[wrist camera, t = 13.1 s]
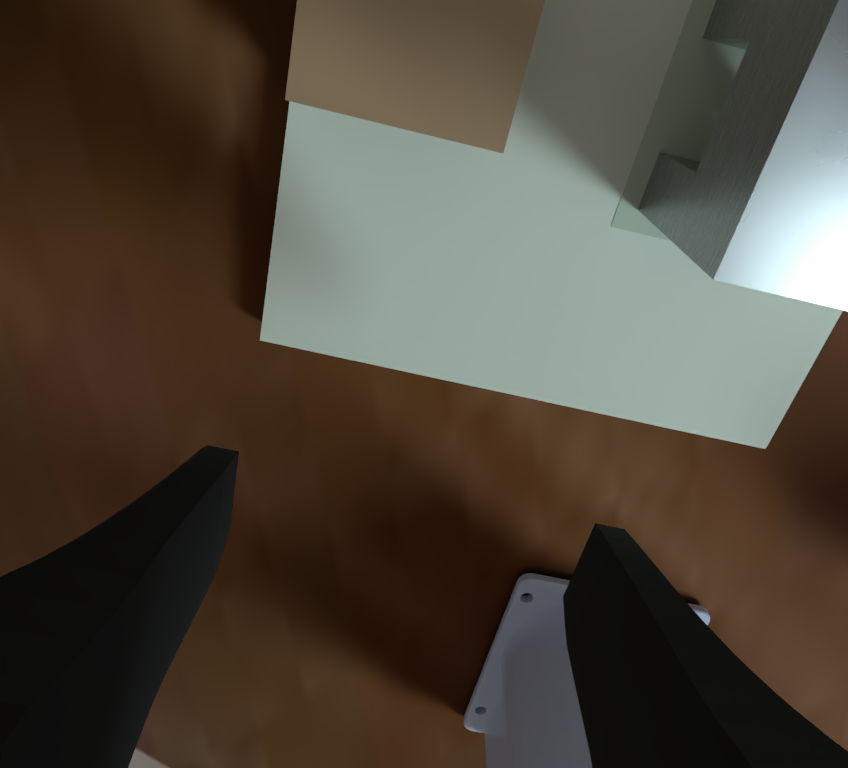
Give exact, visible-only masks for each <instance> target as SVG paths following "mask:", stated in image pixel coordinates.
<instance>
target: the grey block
mask: <svg viewBox="0 0 848 768" xmlns="http://www.w3.org/2000/svg"><path fill="white" fill-rule="evenodd" d="M702 38H703V39H706V40H710V41H714V42H718V43H721V44H725V45H729V46H733V47H737V48H740V49H744V50H746V51H745V53H744V56H743V58H742V61H741V63H740V66H739V68H738V71H737V73H736V76H735V78H734V81H733V83H732V86H731V88H730V91H729V93H728V95H727V98H726V100H725V103H724V105H723V108H722V110H721V113H720V115H719V118H718V120H717V123H716V125H715V128H714V130H713V132H712V135H711V137H710V140H709V142H708V145H707V147H706V150H705V152H704V155H703V157H702V160H701V162H698V161H694V160H690V159H686V158H682V157H678V156H674V155H670V154H666V153H662V152H659V154H658V157H657V160H656V162H655V165H654V168H653V170H652V173H651V176H650V178H649V181H648V184H647V186H646V189H645V192H644V194H643V197H642V200H641V202H640V205H639V208H638V211H639V212H640V213H642V214H643V215H644V216H645V217H646V218H647V219H648V220H649V221H650V222H651V223H652V224H653V225H655V226H656V227H657V228H658V229H659V230H660V231H661V232H662V233H663V234H664V235H665V236H666V237H668V238H669V239H670V240H671V241H672V242H673V243H674V244H675V245H676V246H677V247H678V248H679V249H680V250H682V251H683V252H684V253H685V254H686V255H687V256H688V257H689V258H690V259H691V260H692V261H693V262H695V263H696V264H697V265H698V266H699V267H700V268H701V269H702V270H703V271H704V272H705V273H706V274H708V275H709V276H710V277H711V278H712V279H713V280H716V281H721V282H725V283H729V284H733V285H738V286H742V287H746V288H750V289H755V290H759V291H763V292H767V293H772V294H776V295H780V296H784V297H789V298H793V299H797V300H801V301H806V302H810V303H814V304H819V305H823V306H827V307H831V308H836V309H840V310H844V311H848V0H716V2H715V5H714V8H713V10H712V13H711V16H710V18H709V21H708V24H707V26H706V29H705V32H704V34H703V37H702Z"/></svg>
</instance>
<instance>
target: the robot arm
mask: <svg viewBox="0 0 848 768" xmlns="http://www.w3.org/2000/svg"><path fill="white" fill-rule="evenodd" d="M238 454H239V452H238V451H233V450H228V449H223V448H218V447H213V446H208V445H207V446H206V447H204V448H202V449H201V450H199V451H198V452H197V453H196V454H195V455H193V456H192V457H191V458H190V459H188V460H187V461H186V462H185V463H184V464H182V465H181V466H180V467H179V468H177V469H176V470H175V471H174V472H172V473H171V474H170V475H169V476H167V477H166V478H165V479H164V480H162V481H161V482H160V483H158V484H157V485H156V486H154V487H153V488H152V489H150V490H149V491H147V492H146V493H145V494H143V495H142V496H141V497H139V498H138V499H137V500H135V501H134V502H132V503H131V504H130V505H128V506H127V507H125V508H124V509H122V510H121V511H119V512H118V513H116V514H115V515H113V516H112V517H110V518H108V519H107V520H105V521H104V522H102V523H101V524H99V525H98V526H96V527H95V528H93V529H92V530H90V531H88V532H87V533H85V534H83V535H82V536H80V537H78V538H77V539H75V540H73V541H71V542H70V543H68V544H66V545H64V546H62V547H61V548H59V549H57V550H55V551H53V552H51V553H50V554H48V555H46V556H44V557H42V558H40V559H38V560H36V561H34V562H32V563H30V564H27V565H25V566H23V567H21V568H19V569H16V570H14V571H12V572H10V573H8V574H5V575H3V576H1V577H0V768H128V766H129V763H130V760H131V758H132V755H133V752H134V750H135V747H136V745H137V742H138V740H139V737H140V734H141V732H142V729H143V727H144V724H145V721H146V719H147V716H148V713H149V711H150V708H151V706H152V703H153V701H154V699H155V696H156V694H157V692H158V690H159V687H160V685H161V683H162V681H163V679H164V676H165V674H166V672H167V670H168V668H169V666H170V664H171V662H172V660H173V658H174V656H175V654H176V652H177V650H178V648H179V646H180V644H181V642H182V640H183V638H184V636H185V634H186V632H187V630H188V628H189V626H190V624H191V622H192V620H193V618H194V616H195V614H196V612H197V610H198V608H199V606H200V604H201V602H202V600H203V598H204V596H205V594H206V592H207V590H208V588H209V586H210V584H211V582H212V580H213V577H214V575H215V572H216V569H217V566H218V564H219V561H220V558H221V555H222V552H223V549H224V547H225V544H226V541H227V538H228V535H229V531H230V522H231V514H232V505H233V497H234V488H235V480H236V471H237V463H238ZM524 593H529V595H522V594H524ZM709 622H710V616H709V613H708V611H707V609H706V608H705V607H702V606H699V605H694V604H689V603H687V602H686V601H685V600H684V599H683V598H682V597H681V595H680V594H679V593H678V592H677V591H676V590H675V588H674V587H673V586H672V585H671V584H670V582H669V581H668V580H667V579H666V578H665V576H664V575H663V574H662V573H661V572H660V570H659V569H658V568H657V567H656V566H655V564H654V563H653V562H652V561H651V560H650V558H649V557H648V556H647V555H646V554H645V552H644V551H643V550H642V549H641V548H640V546H639V545H638V544H637V543H636V542H635V541H634V539H633V538H632V537H631V536H630V535H629V534H628V533H627V532H626V531H625V530H624V529H620V528H616V527H611V526H606V525H601V524H596V523H595V525H594V528H593V530H592V532H591V534H590V537H589V539H588V541H587V543H586V546H585V548H584V550H583V553H582V555H581V557H580V559H579V562H578V564H577V566H576V568H575V571H574V573H573V575H572V577H571V580H565V579H560V578H554V577H549V576H544V575H539V574H534V573H527V574H523V575H522V576H520V577H519V578H518V580H517V582H516V585H515V587H514V590H513V592H512V595H511V597H510V600H509V603H508V605H507V608H506V610H505V613H504V615H503V618H502V620H501V623H500V625H499V628H498V631H497V633H496V636H495V638H494V641H493V643H492V646H491V648H490V651H489V653H488V656H487V659H486V661H485V664H484V666H483V669H482V671H481V674H480V676H479V679H478V681H477V684H476V687H475V689H474V692H473V694H472V697H471V699H470V702H469V704H468V707H467V709H466V712H465V715H464V726H465V728H467V729H468V730H471V731H475V732H481V733H485V747H486V764H487V768H848V751H846V750H845V749H844V748H842V747H841V746H840V745H838V744H837V743H836V742H834V741H833V740H832V739H830V738H829V737H828V736H827V735H825V734H824V733H823V732H822V731H820V730H819V729H818V728H817V727H816V726H814V725H813V724H812V723H811V722H809V721H808V720H807V719H806V718H804V717H803V716H802V715H801V714H800V713H798V712H797V711H796V710H795V709H793V708H792V707H791V706H790V705H789V704H788V703H786V702H785V701H784V700H783V699H782V698H781V697H780V696H778V695H777V694H776V693H775V692H774V691H773V690H772V689H771V688H770V687H769V686H767V685H766V684H765V683H764V682H763V681H762V680H761V679H760V678H759V677H758V676H757V675H756V674H754V673H753V672H752V671H751V670H750V669H749V668H748V667H747V666H746V665H745V664H744V663H743V662H742V661H741V660H740V659H739V658H738V657H737V656H736V655H735V654H734V653H733V652H732V651H731V650H730V649H729V648H728V647H727V646H726V645H725V644H724V643H723V642H722V641H721V640H720V639H719V638H718V637H717V635H716V634H715V633H714V632H713V631H712V630H711V629H710V628H709V627H708V626H707V625H708V624H709Z"/></svg>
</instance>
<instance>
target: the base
mask: <svg viewBox="0 0 848 768" xmlns="http://www.w3.org/2000/svg"><path fill="white" fill-rule="evenodd" d="M715 2H716V0H545V2H544V6H543V9H542V13H541V17H540V20H539V24H538V28H537V31H536V35H535V39H534V42H533V46H532V50H531V53H530V57H529V61H528V64H527V68H526V72H525V76H524V79H523V83H522V87H521V90H520V94H519V98H518V101H517V105H516V109H515V112H514V116H513V120H512V123H511V127H510V131H509V134H508V138H507V142H506V146H505V149H504V153H499V152H495V151H491V150H487V149H483V148H479V147H475V146H471V145H466V144H462V143H458V142H454V141H450V140H446V139H442V138H438V137H434V136H430V135H426V134H422V133H417V132H413V131H409V130H405V129H401V128H397V127H393V126H389V125H385V124H381V123H377V122H373V121H368V120H364V119H360V118H356V117H352V116H348V115H344V114H340V113H336V112H332V111H328V110H323V109H319V108H315V107H311V106H307V105H303V104H299V103H295V102H291V101H289V109H288V117H287V125H286V133H285V141H284V150H283V158H282V166H281V174H280V182H279V190H278V198H277V206H276V214H275V222H274V230H273V238H272V246H271V254H270V262H269V271H268V279H267V287H266V295H265V303H264V311H263V319H262V327H261V335H260V340H261V341H265V342H270V343H275V344H279V345H284V346H289V347H293V348H298V349H303V350H307V351H312V352H316V353H321V354H326V355H330V356H335V357H340V358H344V359H349V360H354V361H358V362H363V363H368V364H372V365H377V366H382V367H386V368H391V369H395V370H400V371H405V372H409V373H414V374H419V375H423V376H428V377H433V378H437V379H442V380H447V381H451V382H456V383H461V384H465V385H470V386H475V387H479V388H484V389H488V390H493V391H498V392H502V393H507V394H512V395H516V396H521V397H526V398H530V399H535V400H540V401H544V402H549V403H554V404H558V405H563V406H568V407H572V408H577V409H581V410H586V411H591V412H595V413H600V414H605V415H609V416H614V417H619V418H623V419H628V420H633V421H637V422H642V423H647V424H651V425H656V426H660V427H665V428H670V429H674V430H679V431H684V432H688V433H693V434H698V435H702V436H707V437H712V438H716V439H721V440H726V441H730V442H735V443H740V444H744V445H749V446H753V447H758V448H763V449H766V448H767V446H768V444H769V442H770V440H771V439H772V437H773V435H774V433H775V431H776V430H777V428H778V426H779V424H780V422H781V421H782V419H783V417H784V415H785V413H786V412H787V410H788V408H789V406H790V404H791V403H792V401H793V399H794V397H795V395H796V394H797V392H798V390H799V388H800V386H801V385H802V383H803V381H804V379H805V378H806V376H807V374H808V372H809V370H810V369H811V367H812V365H813V363H814V361H815V360H816V358H817V356H818V354H819V352H820V351H821V349H822V347H823V345H824V343H825V342H826V340H827V338H828V336H829V334H830V333H831V331H832V329H833V327H834V325H835V324H836V322H837V320H838V318H839V316H840V315H841V313H842V311H843V310H840V309H836V308H831V307H827V306H823V305H819V304H814V303H810V302H806V301H801V300H797V299H793V298H789V297H784V296H780V295H776V294H772V293H767V292H763V291H759V290H755V289H750V288H746V287H742V286H738V285H733V284H729V283H725V282H721V281H716V280H713V279H712V278H711V277H710V276H709V275H708V274H706V273H705V272H704V271H703V270H702V269H701V268H700V267H699V266H698V265H697V264H696V263H695V262H693V261H692V260H691V259H690V258H689V257H688V256H687V255H686V254H685V253H684V252H683V251H682V250H680V249H679V248H678V247H677V246H676V245H675V244H674V243H673V242H672V241H671V240H670V239H669V238H668V237H666V236H665V235H664V234H663V233H662V232H661V231H660V230H659V229H658V228H657V227H656V226H655V225H653V224H652V223H651V222H650V221H649V220H648V219H647V218H646V217H645V216H644V215H643V214H642V213H640V212H639V211H638V208H639V205H640V202H641V200H642V197H643V194H644V192H645V189H646V186H647V184H648V181H649V178H650V176H651V173H652V170H653V168H654V165H655V162H656V160H657V157H658V154H659V152H662V153H666V154H670V155H674V156H678V157H682V158H686V159H690V160H694V161H698V162H701V160H702V157H703V155H704V152H705V150H706V147H707V145H708V142H709V140H710V137H711V135H712V132H713V130H714V128H715V125H716V123H717V120H718V118H719V115H720V113H721V110H722V108H723V105H724V103H725V100H726V98H727V95H728V93H729V91H730V88H731V86H732V83H733V81H734V78H735V76H736V73H737V71H738V68H739V66H740V63H741V61H742V58H743V56H744V53H745V51H746V50H744V49H740V48H737V47H733V46H729V45H725V44H721V43H718V42H714V41H710V40H706V39H703V38H702V37H703V34H704V32H705V29H706V26H707V24H708V21H709V18H710V16H711V13H712V10H713V8H714V5H715Z"/></svg>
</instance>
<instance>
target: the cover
mask: <svg viewBox="0 0 848 768" xmlns="http://www.w3.org/2000/svg"><path fill="white" fill-rule="evenodd" d="M544 2H545V0H297V5H296V13H295V21H294V30H293V38H292V46H291V54H290V63H289V71H288V79H287V87H286V96H285V100H287V101H291V102H295V103H299V104H303V105H307V106H311V107H315V108H319V109H323V110H328V111H332V112H336V113H340V114H344V115H348V116H352V117H356V118H360V119H364V120H368V121H373V122H377V123H381V124H385V125H389V126H393V127H397V128H401V129H405V130H409V131H413V132H417V133H422V134H426V135H430V136H434V137H438V138H442V139H446V140H450V141H454V142H458V143H462V144H466V145H471V146H475V147H479V148H483V149H487V150H491V151H495V152H499V153H504V149H505V146H506V142H507V138H508V134H509V131H510V127H511V123H512V120H513V116H514V112H515V109H516V105H517V101H518V98H519V94H520V90H521V87H522V83H523V79H524V76H525V72H526V68H527V64H528V61H529V57H530V53H531V50H532V46H533V42H534V39H535V35H536V31H537V28H538V24H539V20H540V17H541V13H542V9H543V6H544Z"/></svg>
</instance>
